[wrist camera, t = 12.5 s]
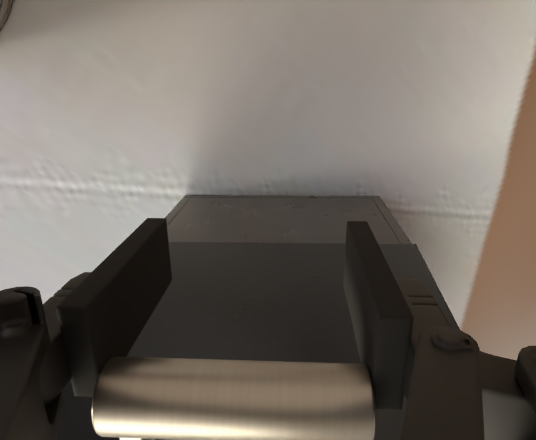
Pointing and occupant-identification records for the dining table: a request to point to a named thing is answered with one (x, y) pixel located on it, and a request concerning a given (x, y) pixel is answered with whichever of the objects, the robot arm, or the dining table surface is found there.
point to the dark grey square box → (279, 219)
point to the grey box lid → (246, 352)
